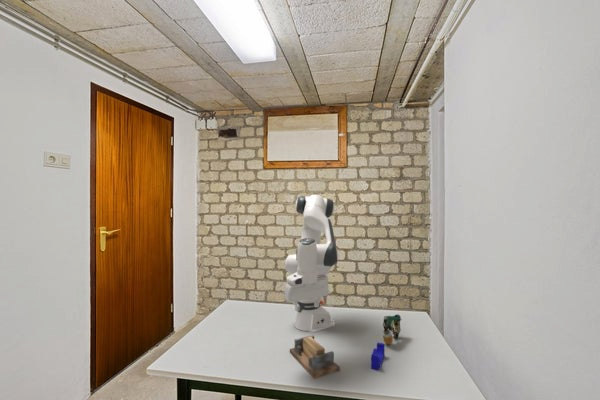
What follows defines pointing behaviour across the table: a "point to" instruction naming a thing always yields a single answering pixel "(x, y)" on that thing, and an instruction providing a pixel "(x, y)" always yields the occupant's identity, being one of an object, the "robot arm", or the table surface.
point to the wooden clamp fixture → (314, 360)
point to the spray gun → (391, 328)
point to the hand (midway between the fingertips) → (307, 308)
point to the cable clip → (377, 356)
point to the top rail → (312, 347)
